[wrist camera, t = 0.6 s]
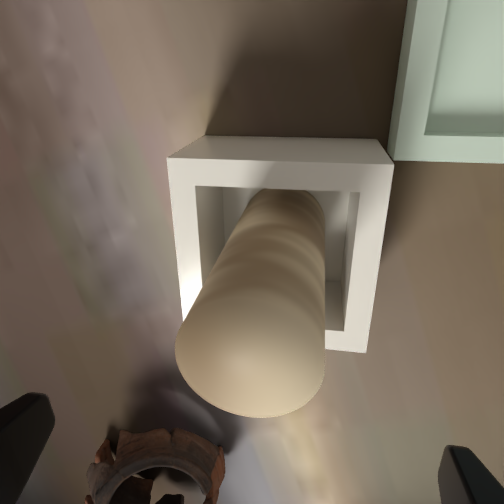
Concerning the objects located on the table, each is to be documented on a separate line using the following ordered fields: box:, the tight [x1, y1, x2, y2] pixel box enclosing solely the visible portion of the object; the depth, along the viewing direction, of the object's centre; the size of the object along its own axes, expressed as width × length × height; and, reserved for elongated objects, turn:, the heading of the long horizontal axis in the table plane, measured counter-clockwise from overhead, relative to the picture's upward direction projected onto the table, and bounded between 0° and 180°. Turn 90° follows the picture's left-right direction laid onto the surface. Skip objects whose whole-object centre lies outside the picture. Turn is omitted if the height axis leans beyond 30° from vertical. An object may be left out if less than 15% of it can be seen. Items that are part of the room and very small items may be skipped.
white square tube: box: [167, 135, 394, 353], centre depth 18 cm, size 8×8×5 cm
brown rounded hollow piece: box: [85, 428, 225, 504], centre depth 28 cm, size 12×9×8 cm
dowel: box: [175, 188, 325, 418], centre depth 15 cm, size 4×4×10 cm
